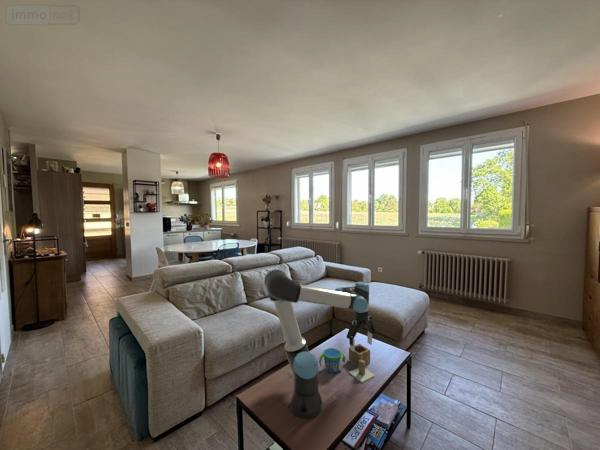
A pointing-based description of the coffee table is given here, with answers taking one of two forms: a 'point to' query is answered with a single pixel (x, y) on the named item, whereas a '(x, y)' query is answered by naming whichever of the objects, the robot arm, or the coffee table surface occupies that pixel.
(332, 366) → the snack cup
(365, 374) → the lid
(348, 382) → the coffee table surface
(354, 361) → the box
